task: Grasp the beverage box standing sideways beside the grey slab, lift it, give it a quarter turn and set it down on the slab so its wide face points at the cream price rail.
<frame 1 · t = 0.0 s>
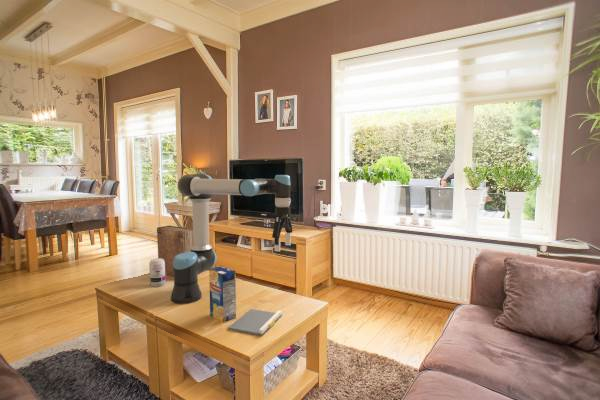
hand: (282, 248, 168), 28 cm above the table, fingers open, 13 cm apart
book: (177, 274, 215), on the table
grey slab: (256, 322, 148), on the table
beverage box: (223, 317, 154), on the table
supplement can: (158, 285, 196), on the table
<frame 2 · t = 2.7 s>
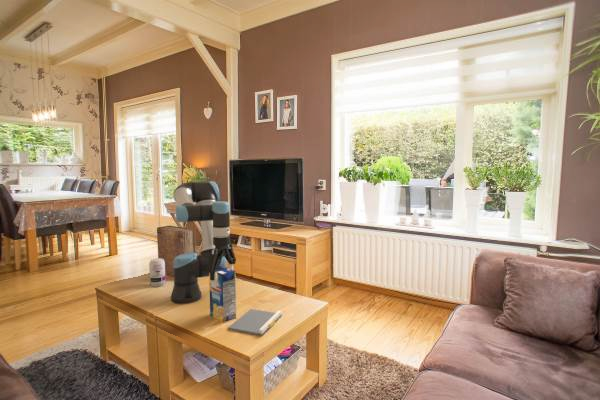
hand: (222, 282, 152), 16 cm above the table, fingers open, 13 cm apart
nothing on the table moved.
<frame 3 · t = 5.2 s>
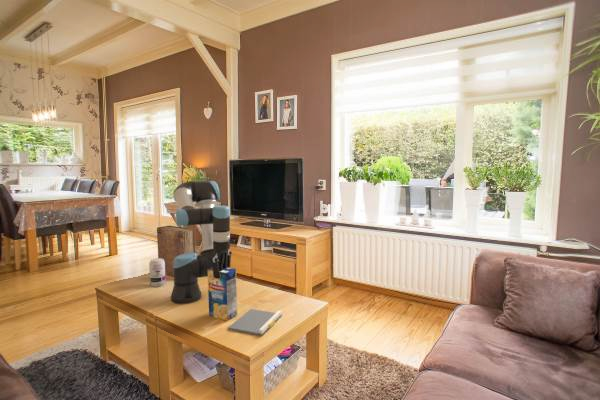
hand: (222, 290, 153), 12 cm above the table, fingers closed on beverage box, 2 cm apart
beverage box: (223, 315, 155), on the table, touching gripper
everything else where it was.
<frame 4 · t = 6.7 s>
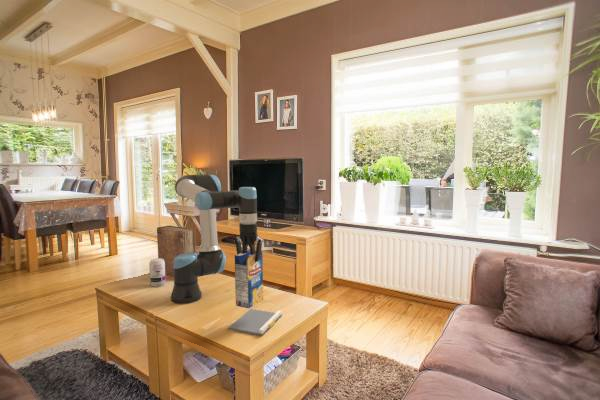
hand: (249, 276, 146), 21 cm above the table, fingers closed on beverage box, 2 cm apart
beverage box: (249, 303, 147), point 9 cm above the table, touching gripper
everything else where it was.
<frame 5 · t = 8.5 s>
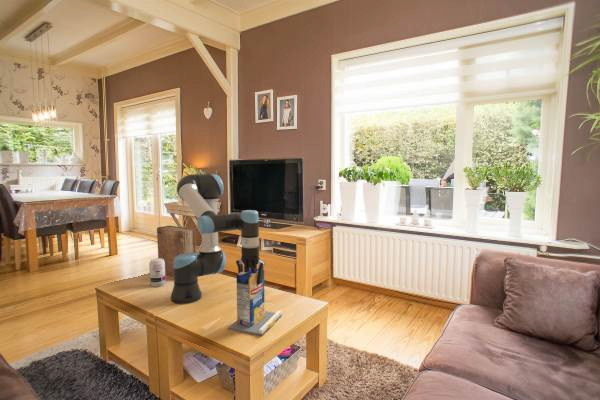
hand: (250, 298, 147), 11 cm above the table, fingers open, 2 cm apart
beverage box: (251, 321, 148), point 1 cm above the table, touching grey slab
everything else where it was.
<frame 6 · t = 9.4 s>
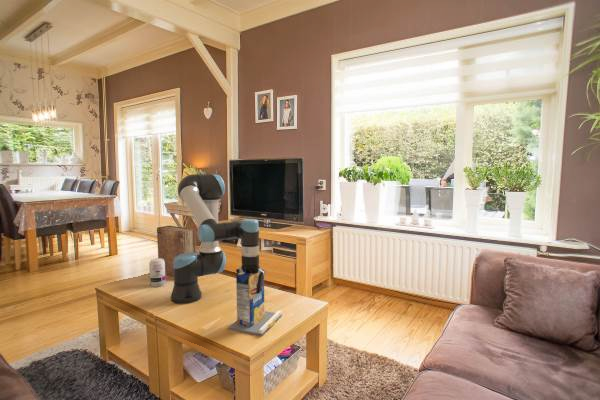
hand: (251, 307, 147), 7 cm above the table, fingers closed on beverage box, 2 cm apart
beverage box: (251, 321, 148), point 1 cm above the table, touching gripper
everything else where it was.
when the fingers open (7 cm above the table, at t = 9.4 s): beverage box stays where it is, resting on grey slab.
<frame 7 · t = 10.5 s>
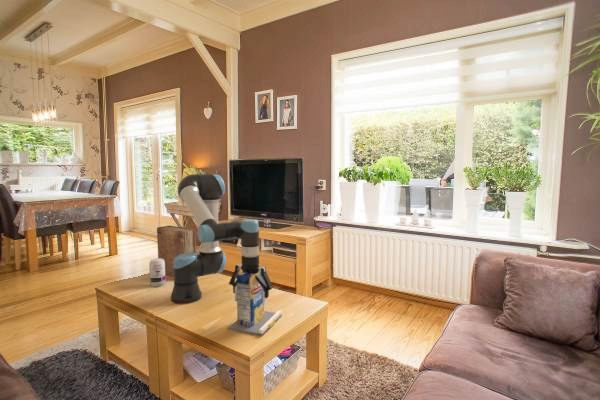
hand: (250, 302, 147), 9 cm above the table, fingers open, 13 cm apart
beverage box: (251, 321, 148), point 1 cm above the table, touching grey slab
everything else where it was.
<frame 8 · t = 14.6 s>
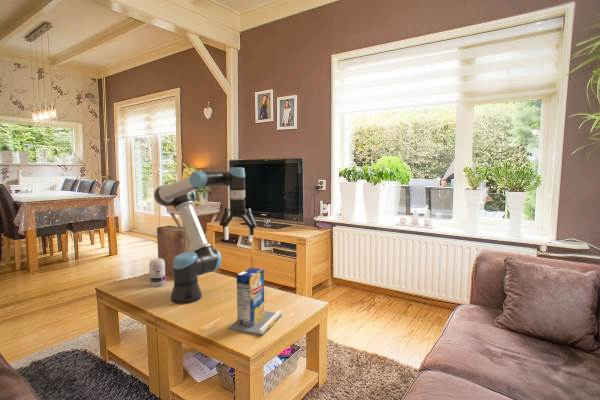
hand: (238, 240, 168), 32 cm above the table, fingers open, 13 cm apart
nothing on the table moved.
at the end: beverage box inside the target area (0.4 cm from its centre), point 0.8 cm above the table; beverage box tilted 0°; the gripper is holding nothing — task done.
